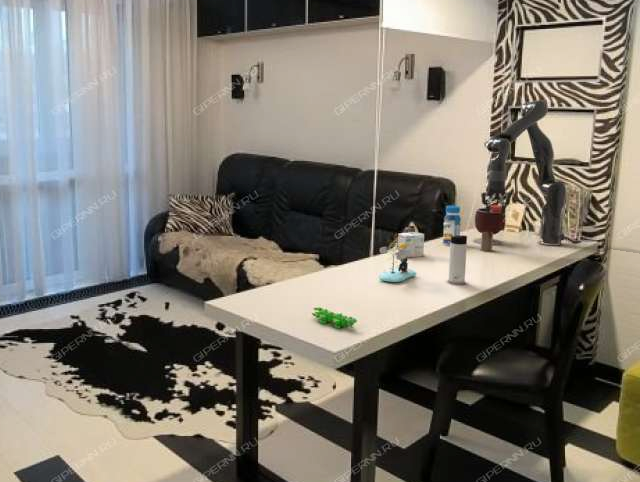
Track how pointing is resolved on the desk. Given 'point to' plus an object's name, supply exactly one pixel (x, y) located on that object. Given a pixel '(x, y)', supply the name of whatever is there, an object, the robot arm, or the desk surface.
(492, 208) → the lid
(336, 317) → the crocodile figurine
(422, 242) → the light bulb box
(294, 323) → the desk surface
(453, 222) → the blue labeled canister
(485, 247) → the jar
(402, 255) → the penguin figurine
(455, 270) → the travel mug
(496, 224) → the mate gourd
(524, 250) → the desk surface
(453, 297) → the desk surface
